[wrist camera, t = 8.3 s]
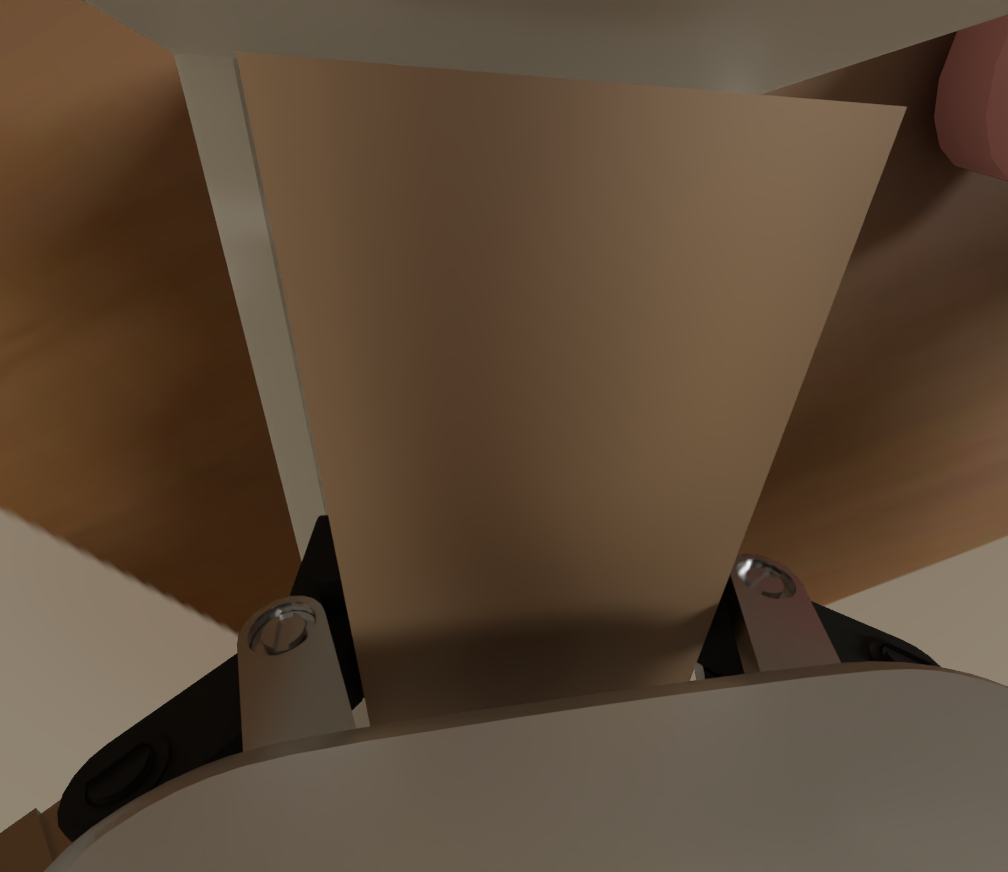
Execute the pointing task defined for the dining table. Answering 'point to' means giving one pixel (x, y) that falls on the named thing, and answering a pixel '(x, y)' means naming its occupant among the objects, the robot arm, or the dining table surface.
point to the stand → (486, 48)
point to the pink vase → (976, 99)
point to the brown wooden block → (546, 353)
